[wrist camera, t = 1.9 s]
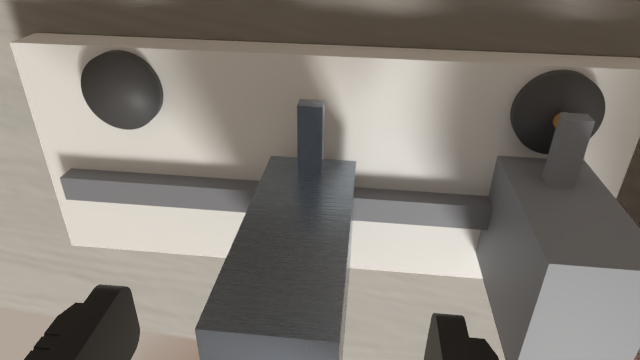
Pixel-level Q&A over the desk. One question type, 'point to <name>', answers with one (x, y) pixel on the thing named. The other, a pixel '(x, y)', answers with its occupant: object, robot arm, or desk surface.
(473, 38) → the desk surface
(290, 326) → the sliding leg
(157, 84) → the sliding block fixture
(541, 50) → the desk surface
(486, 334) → the desk surface
